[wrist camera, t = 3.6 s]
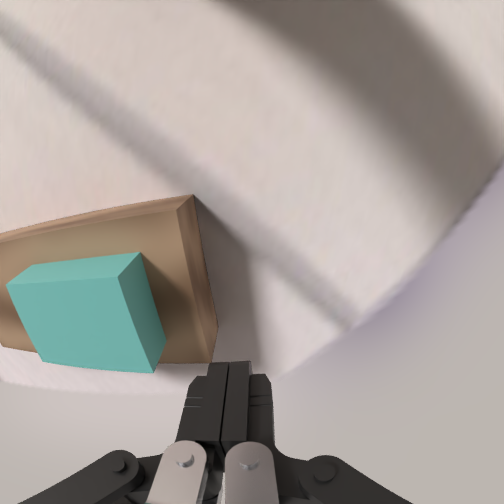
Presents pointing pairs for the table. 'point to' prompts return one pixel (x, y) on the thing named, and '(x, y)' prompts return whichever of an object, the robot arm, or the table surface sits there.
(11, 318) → the brown flat block
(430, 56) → the table surface
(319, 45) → the table surface
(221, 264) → the table surface
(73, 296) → the teal rectangular block
